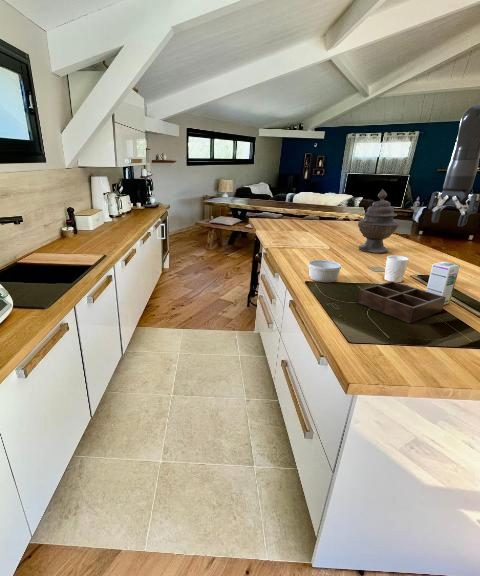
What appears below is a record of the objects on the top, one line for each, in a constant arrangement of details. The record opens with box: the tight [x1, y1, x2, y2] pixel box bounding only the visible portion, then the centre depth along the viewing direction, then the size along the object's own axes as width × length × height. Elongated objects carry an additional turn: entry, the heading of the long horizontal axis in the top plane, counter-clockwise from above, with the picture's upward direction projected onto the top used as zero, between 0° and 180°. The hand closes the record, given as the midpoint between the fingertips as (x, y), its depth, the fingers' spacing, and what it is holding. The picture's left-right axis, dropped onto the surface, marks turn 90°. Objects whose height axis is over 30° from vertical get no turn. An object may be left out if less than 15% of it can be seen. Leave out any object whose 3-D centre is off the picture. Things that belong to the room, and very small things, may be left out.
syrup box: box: [425, 261, 461, 305], centre depth 111 cm, size 6×6×14 cm
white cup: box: [383, 254, 410, 283], centre depth 134 cm, size 8×8×10 cm
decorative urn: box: [357, 188, 400, 254], centre depth 178 cm, size 20×20×35 cm
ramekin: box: [307, 259, 342, 283], centre depth 138 cm, size 13×13×7 cm
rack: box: [357, 281, 446, 324], centre depth 109 cm, size 18×18×5 cm
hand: (447, 224), depth 108 cm, fingers open, 8 cm apart
